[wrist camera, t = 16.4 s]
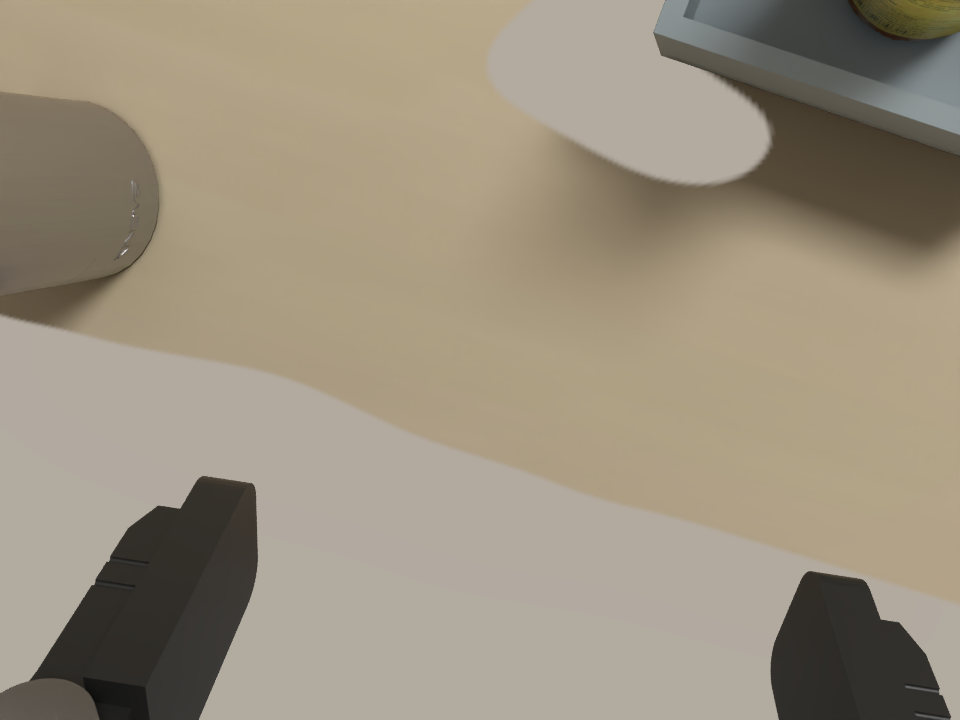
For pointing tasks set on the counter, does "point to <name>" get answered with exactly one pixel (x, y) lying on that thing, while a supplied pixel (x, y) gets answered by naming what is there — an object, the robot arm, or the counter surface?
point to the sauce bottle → (910, 17)
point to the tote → (823, 61)
